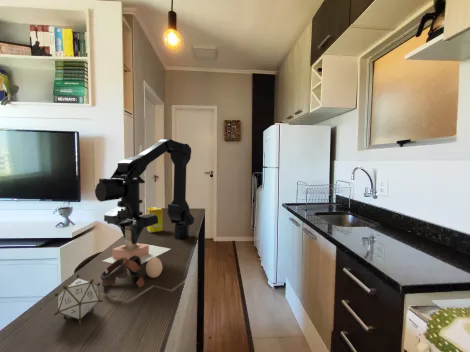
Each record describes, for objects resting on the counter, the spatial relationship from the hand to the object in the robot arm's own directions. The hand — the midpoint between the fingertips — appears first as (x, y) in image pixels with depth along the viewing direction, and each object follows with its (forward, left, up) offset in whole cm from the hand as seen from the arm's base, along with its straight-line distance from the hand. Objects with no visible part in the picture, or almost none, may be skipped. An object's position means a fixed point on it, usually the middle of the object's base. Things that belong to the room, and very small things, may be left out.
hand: (131, 243), depth 82 cm
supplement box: (-27, -14, -5) cm, 31 cm away
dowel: (0, 0, -3) cm, 3 cm away
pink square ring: (0, 0, -4) cm, 4 cm away
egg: (+8, +17, -5) cm, 19 cm away
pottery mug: (+14, +13, -5) cm, 20 cm away
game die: (+28, +15, -5) cm, 32 cm away
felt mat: (-2, +1, -5) cm, 5 cm away
